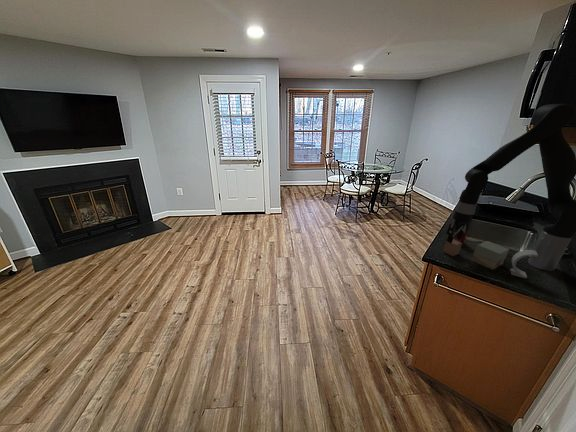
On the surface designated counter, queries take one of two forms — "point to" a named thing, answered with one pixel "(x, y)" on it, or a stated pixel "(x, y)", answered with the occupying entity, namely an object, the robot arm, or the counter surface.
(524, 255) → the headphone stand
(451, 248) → the terracotta block
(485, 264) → the tower bottom
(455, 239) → the beverage can
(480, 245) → the tower top
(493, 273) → the counter surface
